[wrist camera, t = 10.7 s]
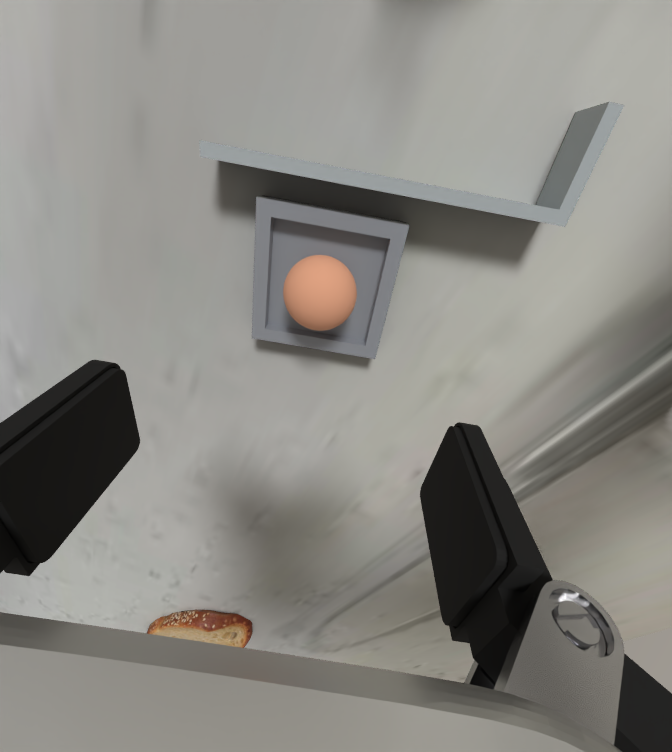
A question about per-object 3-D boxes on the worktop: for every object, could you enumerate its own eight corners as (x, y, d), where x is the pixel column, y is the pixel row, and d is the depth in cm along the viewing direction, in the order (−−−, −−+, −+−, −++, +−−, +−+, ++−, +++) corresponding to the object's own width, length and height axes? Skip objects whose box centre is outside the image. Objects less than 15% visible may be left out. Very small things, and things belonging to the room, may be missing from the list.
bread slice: (149, 639, 62) (138, 664, 59) (149, 594, 53) (135, 620, 50) (242, 656, 64) (236, 681, 61) (257, 615, 55) (251, 642, 52)
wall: (588, 114, 19) (624, 104, 17) (541, 221, 22) (565, 226, 20) (216, 37, 18) (193, 14, 16) (218, 159, 21) (200, 156, 19)
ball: (363, 255, 23) (363, 273, 19) (350, 320, 26) (347, 348, 22) (294, 242, 23) (278, 257, 19) (288, 309, 26) (273, 335, 21)
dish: (405, 222, 23) (409, 225, 21) (374, 349, 28) (375, 359, 26) (263, 195, 22) (256, 196, 21) (257, 329, 28) (251, 338, 26)
